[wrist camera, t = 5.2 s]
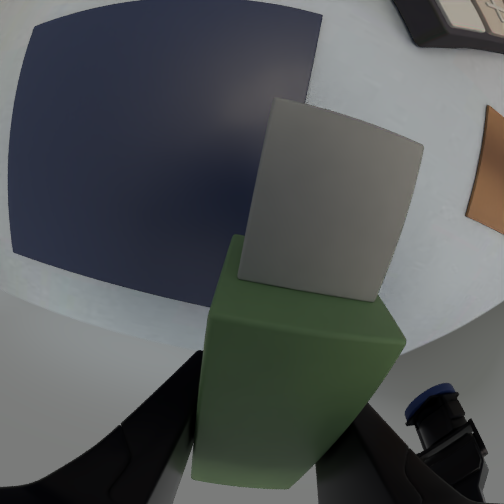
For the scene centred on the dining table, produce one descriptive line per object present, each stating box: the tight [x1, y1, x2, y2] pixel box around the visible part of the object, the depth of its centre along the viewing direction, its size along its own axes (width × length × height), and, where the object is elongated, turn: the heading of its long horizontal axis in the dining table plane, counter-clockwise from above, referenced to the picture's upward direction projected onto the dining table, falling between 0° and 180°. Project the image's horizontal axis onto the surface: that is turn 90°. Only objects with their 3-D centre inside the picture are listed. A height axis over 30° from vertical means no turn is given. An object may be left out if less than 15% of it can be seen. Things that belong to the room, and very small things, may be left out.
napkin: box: [8, 0, 323, 307], centre depth 14 cm, size 20×22×1 cm
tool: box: [191, 97, 424, 489], centre depth 6 cm, size 10×3×4 cm, turn 169°
